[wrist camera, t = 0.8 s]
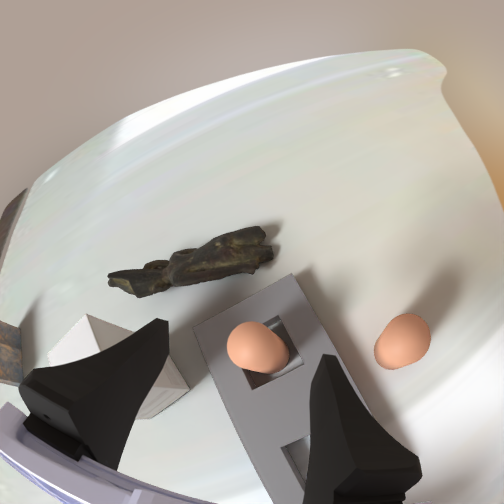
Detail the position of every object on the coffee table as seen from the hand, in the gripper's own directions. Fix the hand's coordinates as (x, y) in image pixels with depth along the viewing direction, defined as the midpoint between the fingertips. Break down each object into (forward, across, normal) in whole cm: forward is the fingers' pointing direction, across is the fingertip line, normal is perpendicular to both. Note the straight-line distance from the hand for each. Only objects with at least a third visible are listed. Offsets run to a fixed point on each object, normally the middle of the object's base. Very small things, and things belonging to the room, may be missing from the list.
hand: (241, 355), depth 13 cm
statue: (+21, +8, +9) cm, 24 cm away
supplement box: (+12, +10, +18) cm, 24 cm away
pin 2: (+12, -14, +7) cm, 20 cm away
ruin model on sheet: (+13, +42, +31) cm, 54 cm away
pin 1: (+13, -2, +11) cm, 17 cm away
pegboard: (+9, -6, +14) cm, 17 cm away
